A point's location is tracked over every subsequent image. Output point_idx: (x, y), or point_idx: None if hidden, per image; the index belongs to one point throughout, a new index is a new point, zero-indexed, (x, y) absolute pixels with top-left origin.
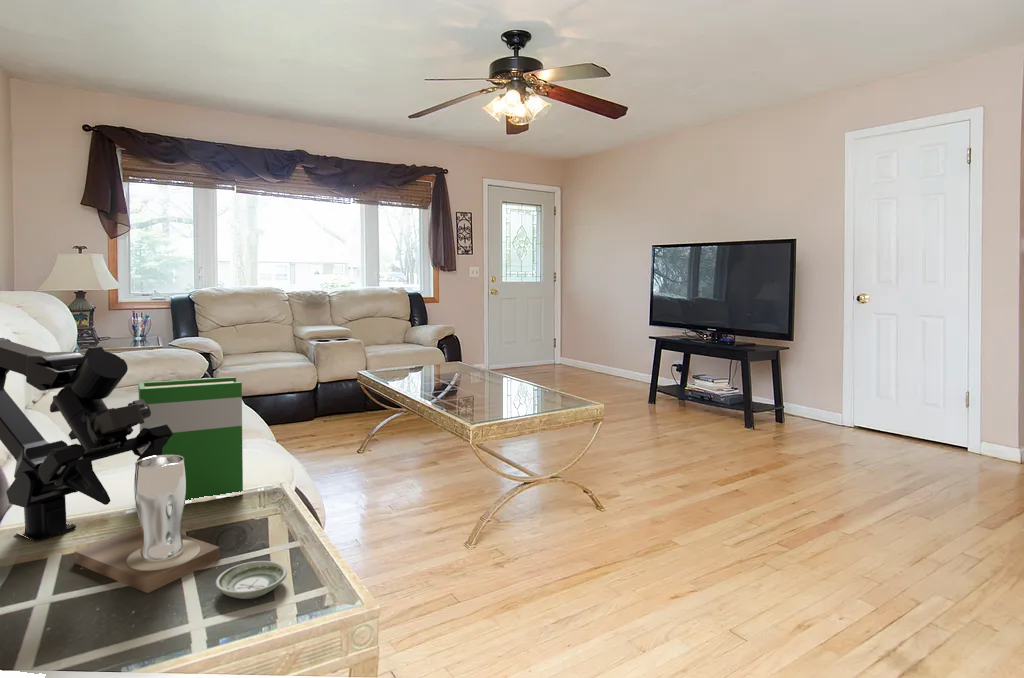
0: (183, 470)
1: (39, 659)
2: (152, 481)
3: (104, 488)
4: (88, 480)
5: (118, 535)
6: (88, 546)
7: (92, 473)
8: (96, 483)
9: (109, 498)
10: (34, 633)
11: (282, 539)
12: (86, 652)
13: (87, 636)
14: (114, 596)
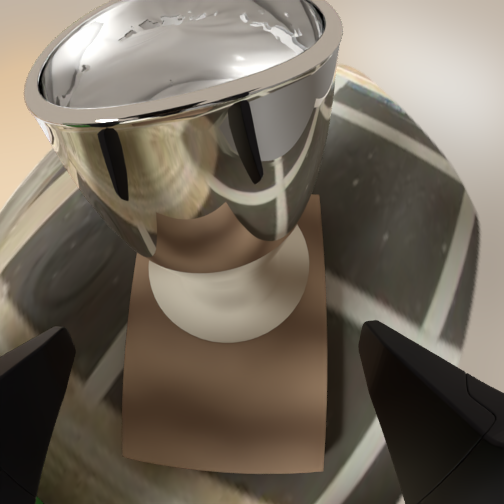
0: (142, 32)
1: (460, 192)
2: (292, 48)
3: (400, 354)
4: (493, 392)
5: (208, 467)
6: (289, 471)
7: (491, 421)
8: (449, 377)
9: (370, 325)
10: (457, 252)
11: (65, 180)
12: (424, 159)
13: (417, 185)
14: (352, 250)
